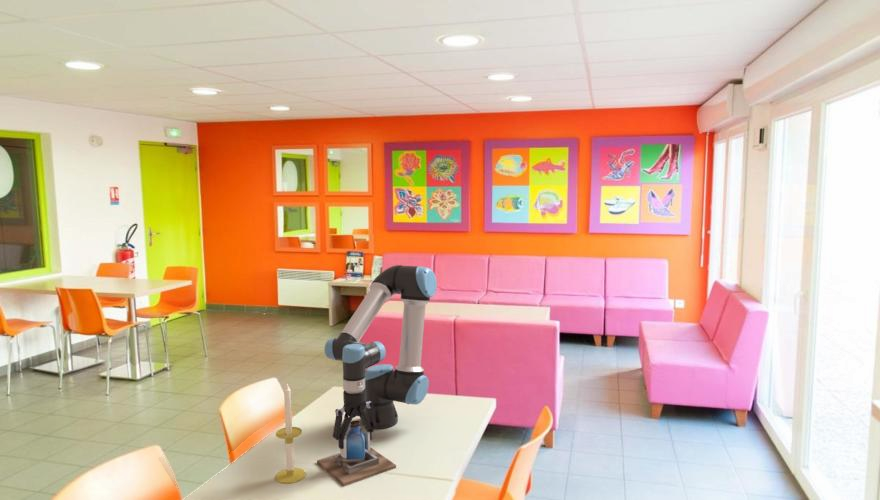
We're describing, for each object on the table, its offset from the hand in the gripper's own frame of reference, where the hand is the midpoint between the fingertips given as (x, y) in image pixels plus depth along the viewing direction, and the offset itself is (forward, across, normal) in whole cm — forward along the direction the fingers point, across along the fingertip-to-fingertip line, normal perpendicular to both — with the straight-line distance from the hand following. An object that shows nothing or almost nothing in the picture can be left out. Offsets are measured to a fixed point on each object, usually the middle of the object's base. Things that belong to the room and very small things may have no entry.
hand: (355, 452), depth 204 cm
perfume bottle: (+1, 0, 0) cm, 1 cm away
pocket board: (+5, 0, 0) cm, 5 cm away
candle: (+5, -21, +7) cm, 23 cm away
